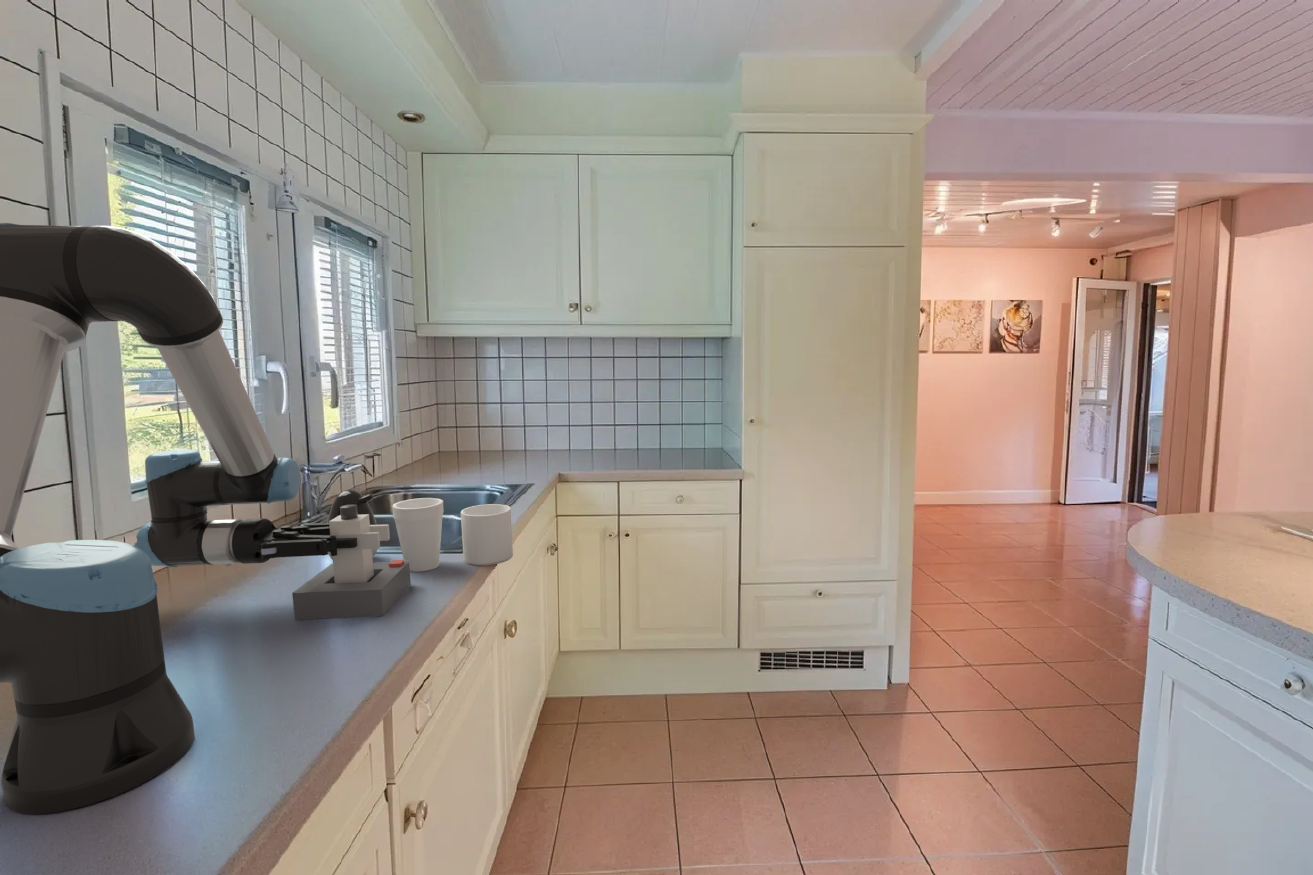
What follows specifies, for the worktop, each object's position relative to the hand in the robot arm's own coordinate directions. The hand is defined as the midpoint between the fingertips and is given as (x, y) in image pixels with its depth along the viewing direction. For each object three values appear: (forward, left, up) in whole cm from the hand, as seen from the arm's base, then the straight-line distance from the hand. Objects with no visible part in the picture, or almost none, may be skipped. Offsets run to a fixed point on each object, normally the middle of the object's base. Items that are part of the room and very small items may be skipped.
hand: (383, 536), depth 109 cm
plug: (+1, +5, -7) cm, 9 cm away
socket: (+1, +5, -11) cm, 13 cm away
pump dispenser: (+24, +10, -12) cm, 28 cm away
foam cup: (+17, -4, -12) cm, 21 cm away
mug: (+20, -17, -12) cm, 28 cm away
